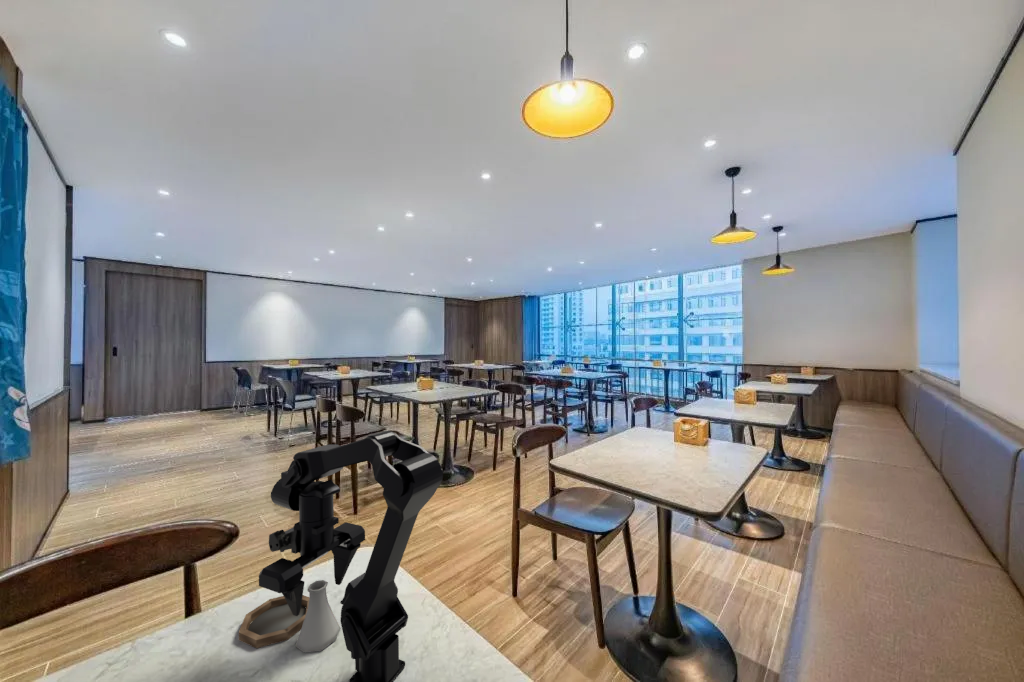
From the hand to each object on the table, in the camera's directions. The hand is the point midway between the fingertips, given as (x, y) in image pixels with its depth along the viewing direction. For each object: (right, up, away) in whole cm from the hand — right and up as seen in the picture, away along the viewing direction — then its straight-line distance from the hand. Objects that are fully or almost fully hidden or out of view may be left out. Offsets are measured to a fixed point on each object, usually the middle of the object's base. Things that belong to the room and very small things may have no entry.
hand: (318, 598), depth 72 cm
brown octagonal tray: (-10, -8, +4) cm, 13 cm away
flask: (0, -8, 0) cm, 8 cm away
